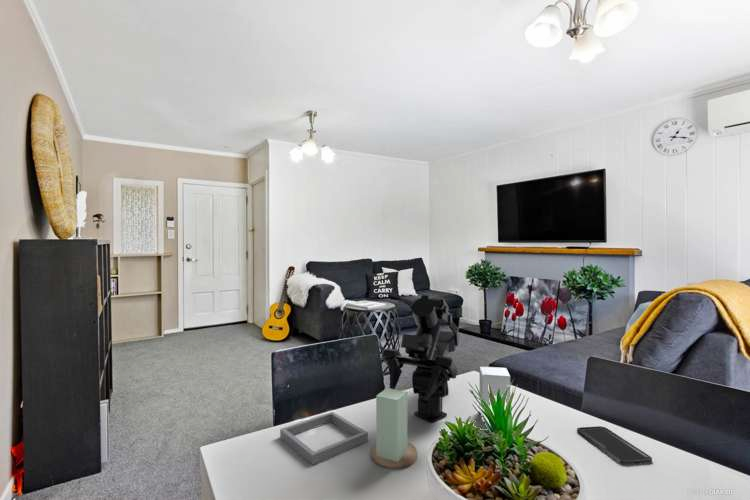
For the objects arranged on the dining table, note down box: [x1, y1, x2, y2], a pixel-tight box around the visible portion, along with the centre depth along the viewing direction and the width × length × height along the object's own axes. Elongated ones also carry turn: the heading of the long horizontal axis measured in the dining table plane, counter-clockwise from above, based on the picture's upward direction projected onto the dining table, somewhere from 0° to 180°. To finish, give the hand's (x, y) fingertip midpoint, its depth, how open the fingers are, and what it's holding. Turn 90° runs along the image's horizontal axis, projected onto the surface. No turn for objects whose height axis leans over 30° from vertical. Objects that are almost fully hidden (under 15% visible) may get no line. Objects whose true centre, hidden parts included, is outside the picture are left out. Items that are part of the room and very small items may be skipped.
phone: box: [576, 425, 653, 466], centre depth 87 cm, size 8×1×15 cm
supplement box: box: [478, 366, 511, 423], centre depth 101 cm, size 7×7×13 cm
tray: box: [279, 411, 369, 465], centre depth 90 cm, size 15×15×2 cm
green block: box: [375, 387, 408, 462], centre depth 82 cm, size 5×5×13 cm
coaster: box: [370, 441, 418, 470], centre depth 83 cm, size 10×10×1 cm
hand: (408, 394), depth 90 cm, fingers open, 9 cm apart
